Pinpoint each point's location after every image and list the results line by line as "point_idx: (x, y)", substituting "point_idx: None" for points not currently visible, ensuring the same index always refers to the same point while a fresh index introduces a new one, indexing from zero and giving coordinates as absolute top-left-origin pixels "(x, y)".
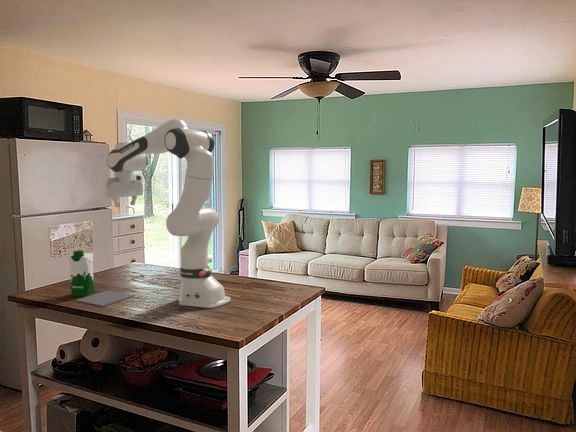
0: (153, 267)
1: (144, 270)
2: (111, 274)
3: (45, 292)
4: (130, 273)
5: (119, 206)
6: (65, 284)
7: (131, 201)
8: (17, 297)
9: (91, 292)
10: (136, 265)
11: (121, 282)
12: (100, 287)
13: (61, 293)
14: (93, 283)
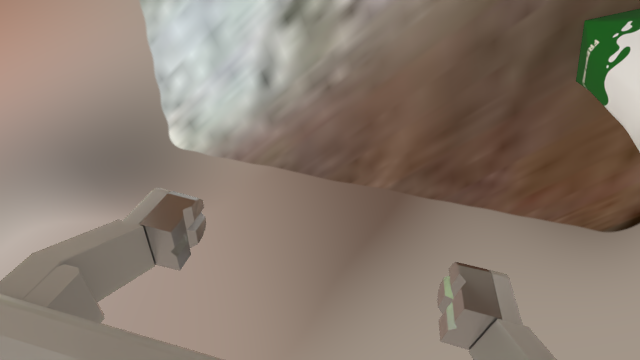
0: (179, 56)
1: (227, 59)
2: (319, 131)
3: (574, 180)
4: (282, 80)
5: (459, 263)
6: (468, 183)
7: (160, 261)
8: (636, 215)
9: (623, 13)
10: (195, 128)
11: (408, 22)
12: (497, 52)
13: (592, 130)
14: (631, 18)
